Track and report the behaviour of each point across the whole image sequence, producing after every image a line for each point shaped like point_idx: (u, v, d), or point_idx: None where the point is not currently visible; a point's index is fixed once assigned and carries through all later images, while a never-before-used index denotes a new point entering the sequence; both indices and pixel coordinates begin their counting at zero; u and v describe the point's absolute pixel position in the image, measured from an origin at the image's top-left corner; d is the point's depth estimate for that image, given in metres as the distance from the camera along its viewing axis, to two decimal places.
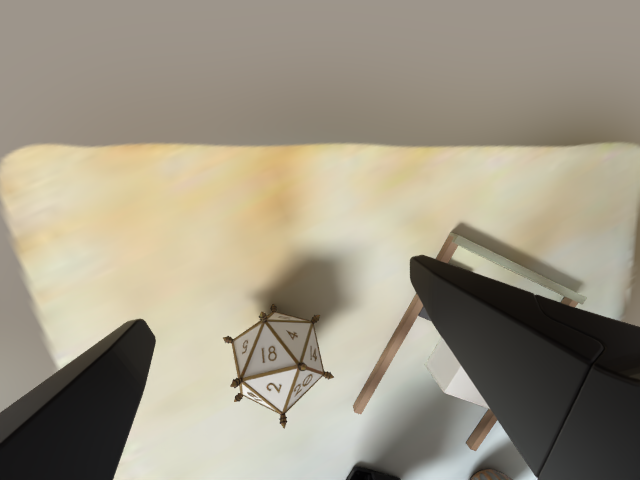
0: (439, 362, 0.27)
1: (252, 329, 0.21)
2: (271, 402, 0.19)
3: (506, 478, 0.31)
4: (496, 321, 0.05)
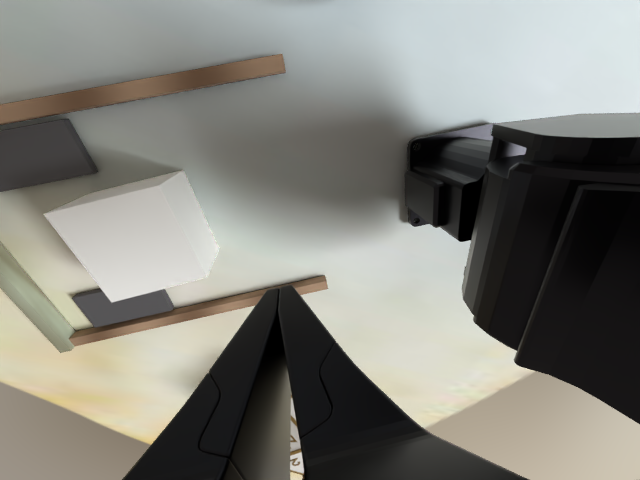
0: None
1: None
2: None
3: None
4: None
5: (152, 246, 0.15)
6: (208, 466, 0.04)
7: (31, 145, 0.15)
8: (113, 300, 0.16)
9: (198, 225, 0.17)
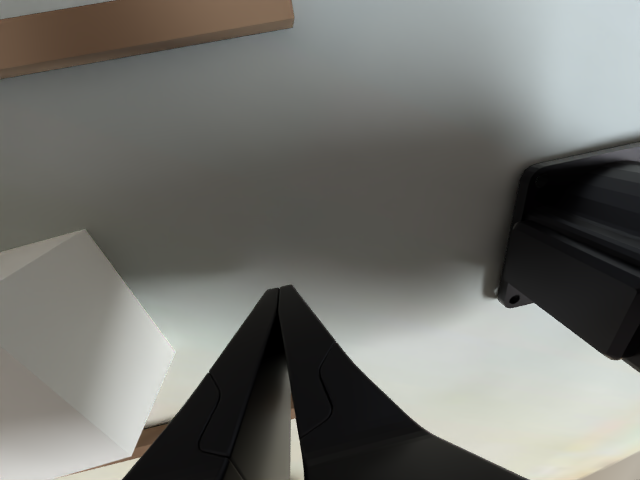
0: None
1: None
2: None
3: None
4: None
5: None
6: (208, 466, 0.04)
7: None
8: None
9: (118, 337, 0.09)
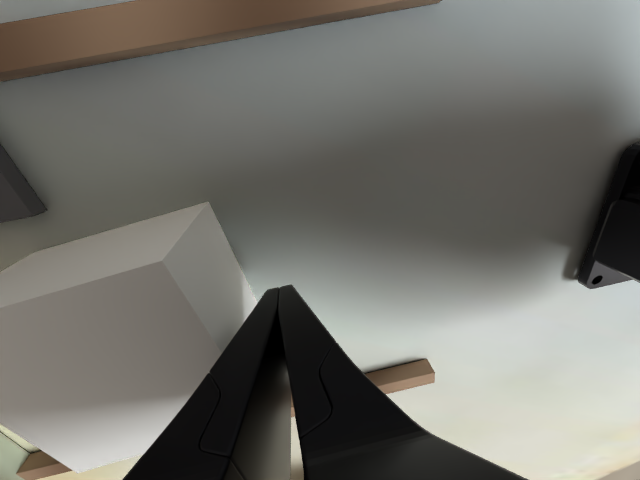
0: None
1: None
2: None
3: None
4: None
5: (153, 380, 0.07)
6: (208, 466, 0.04)
7: None
8: (80, 470, 0.08)
9: (240, 307, 0.09)
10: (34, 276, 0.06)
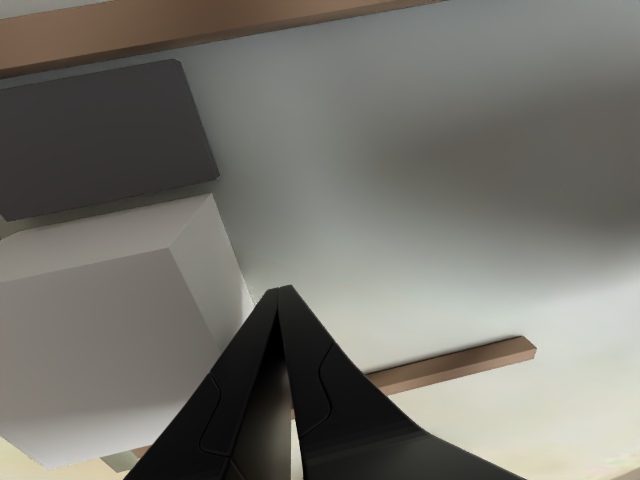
0: None
1: None
2: None
3: None
4: None
5: (143, 373, 0.06)
6: (208, 466, 0.04)
7: (100, 119, 0.07)
8: (52, 467, 0.07)
9: (236, 302, 0.09)
10: (22, 255, 0.06)
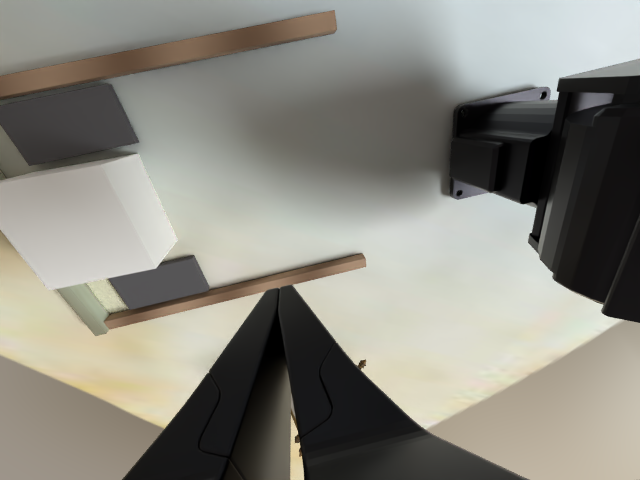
0: None
1: None
2: None
3: None
4: None
5: (94, 231, 0.14)
6: (207, 466, 0.04)
7: (73, 112, 0.14)
8: (50, 288, 0.15)
9: (151, 212, 0.16)
10: (39, 173, 0.13)
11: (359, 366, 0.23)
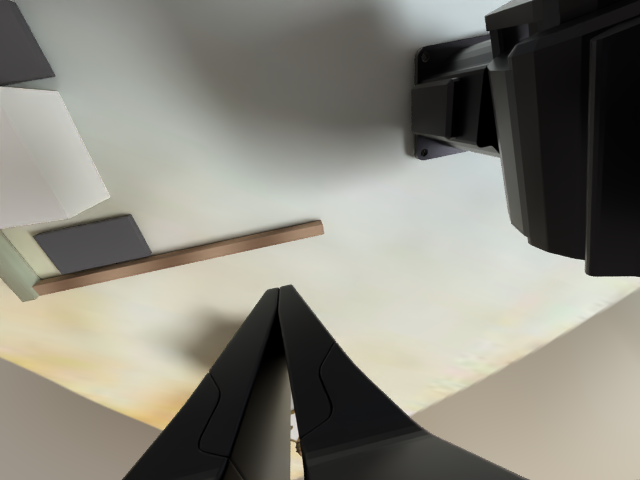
0: None
1: None
2: None
3: None
4: None
5: None
6: (208, 466, 0.04)
7: None
8: None
9: (70, 158, 0.14)
10: None
11: None
